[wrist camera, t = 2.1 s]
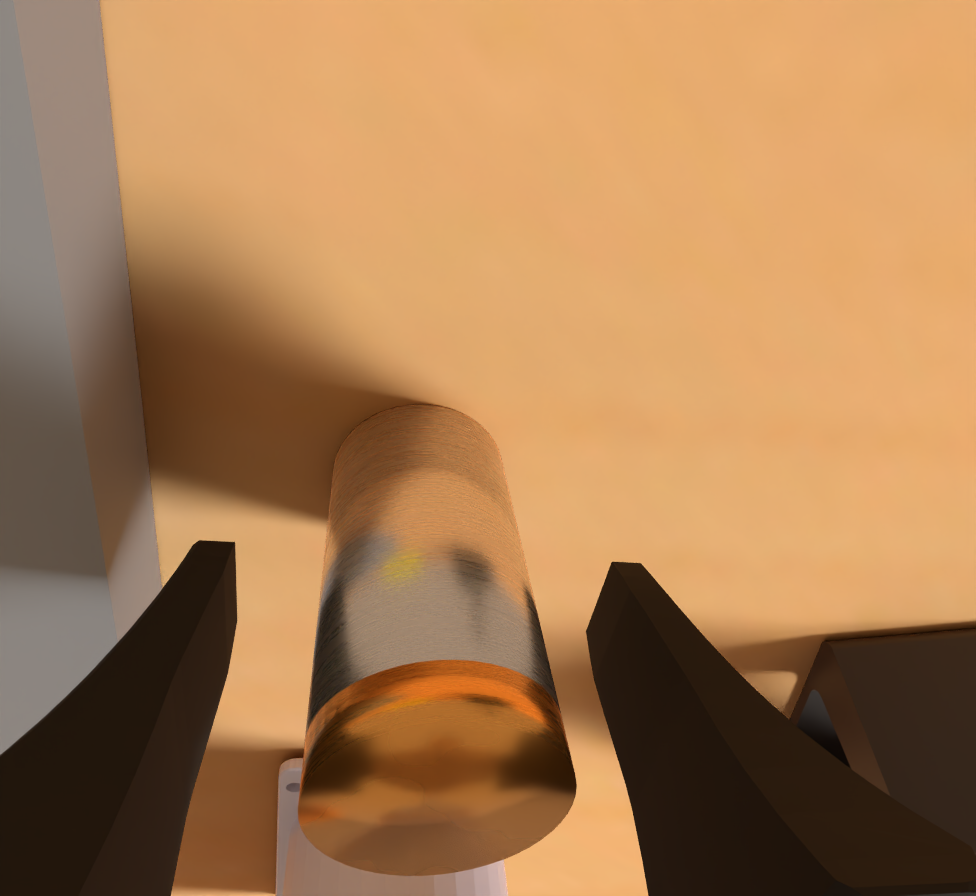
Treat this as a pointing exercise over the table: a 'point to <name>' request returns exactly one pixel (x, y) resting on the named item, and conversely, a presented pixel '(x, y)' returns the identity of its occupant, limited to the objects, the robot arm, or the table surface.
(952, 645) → the phone stand
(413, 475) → the glass jar with lid
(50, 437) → the dock plate
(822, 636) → the table surface
